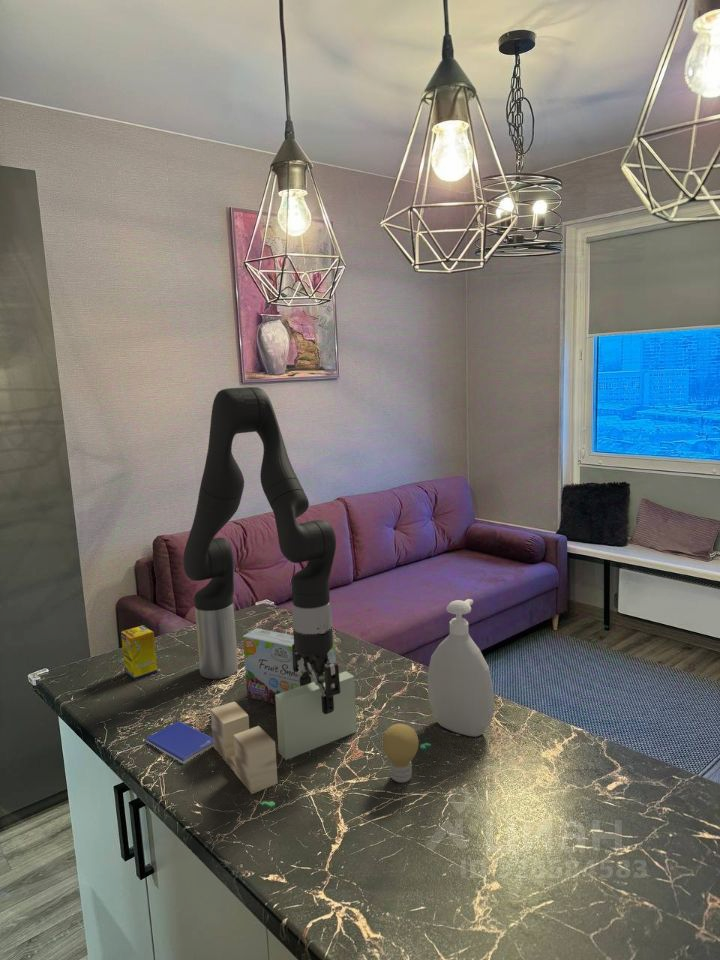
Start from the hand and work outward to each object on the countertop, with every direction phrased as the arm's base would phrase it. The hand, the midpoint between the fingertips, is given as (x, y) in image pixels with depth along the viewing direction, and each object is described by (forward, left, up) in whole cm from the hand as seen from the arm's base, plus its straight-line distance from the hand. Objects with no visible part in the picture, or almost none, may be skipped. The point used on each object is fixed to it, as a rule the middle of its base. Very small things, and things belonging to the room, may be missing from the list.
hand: (316, 703), depth 127 cm
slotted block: (-2, -15, -8) cm, 17 cm away
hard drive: (-16, -22, -9) cm, 29 cm away
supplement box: (-53, -20, -8) cm, 57 cm away
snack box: (-17, +3, -9) cm, 19 cm away
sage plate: (0, 0, -8) cm, 8 cm away
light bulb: (+19, +6, -8) cm, 21 cm away
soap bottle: (+13, +26, -8) cm, 30 cm away
